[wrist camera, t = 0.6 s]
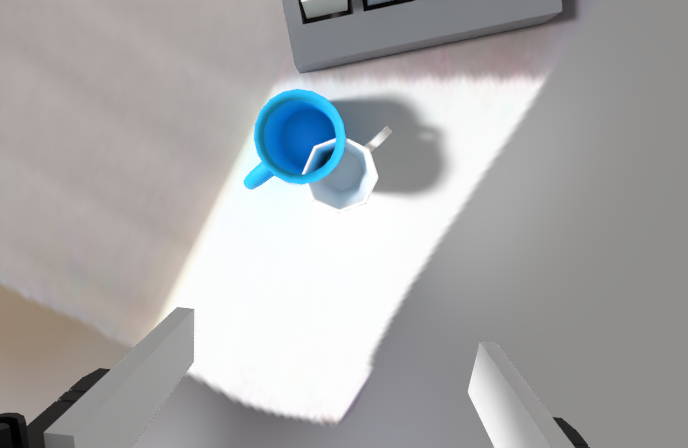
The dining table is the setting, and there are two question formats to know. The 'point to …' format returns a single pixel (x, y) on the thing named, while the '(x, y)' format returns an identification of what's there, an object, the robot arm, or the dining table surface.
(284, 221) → the dining table surface
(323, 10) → the key ivory
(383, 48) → the grey board
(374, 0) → the key blue
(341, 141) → the mug
